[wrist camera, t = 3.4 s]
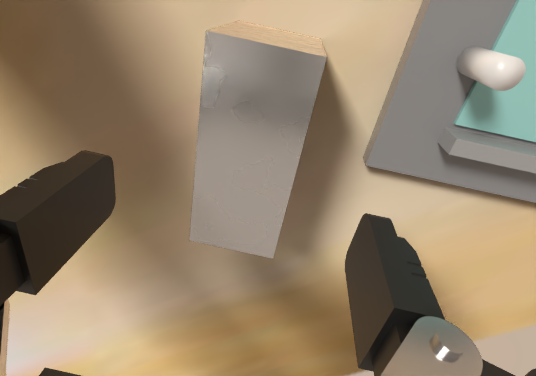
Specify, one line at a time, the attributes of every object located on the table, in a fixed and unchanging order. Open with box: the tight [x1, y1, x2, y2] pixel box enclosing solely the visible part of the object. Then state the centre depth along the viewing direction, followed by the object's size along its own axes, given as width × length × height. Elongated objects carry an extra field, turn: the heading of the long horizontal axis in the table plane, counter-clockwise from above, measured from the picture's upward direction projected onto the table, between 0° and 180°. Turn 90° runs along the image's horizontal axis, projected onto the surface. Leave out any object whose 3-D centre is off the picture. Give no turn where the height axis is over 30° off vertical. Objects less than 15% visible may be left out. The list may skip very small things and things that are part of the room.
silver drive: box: [189, 21, 327, 259], centre depth 15 cm, size 4×9×6 cm, turn 169°
